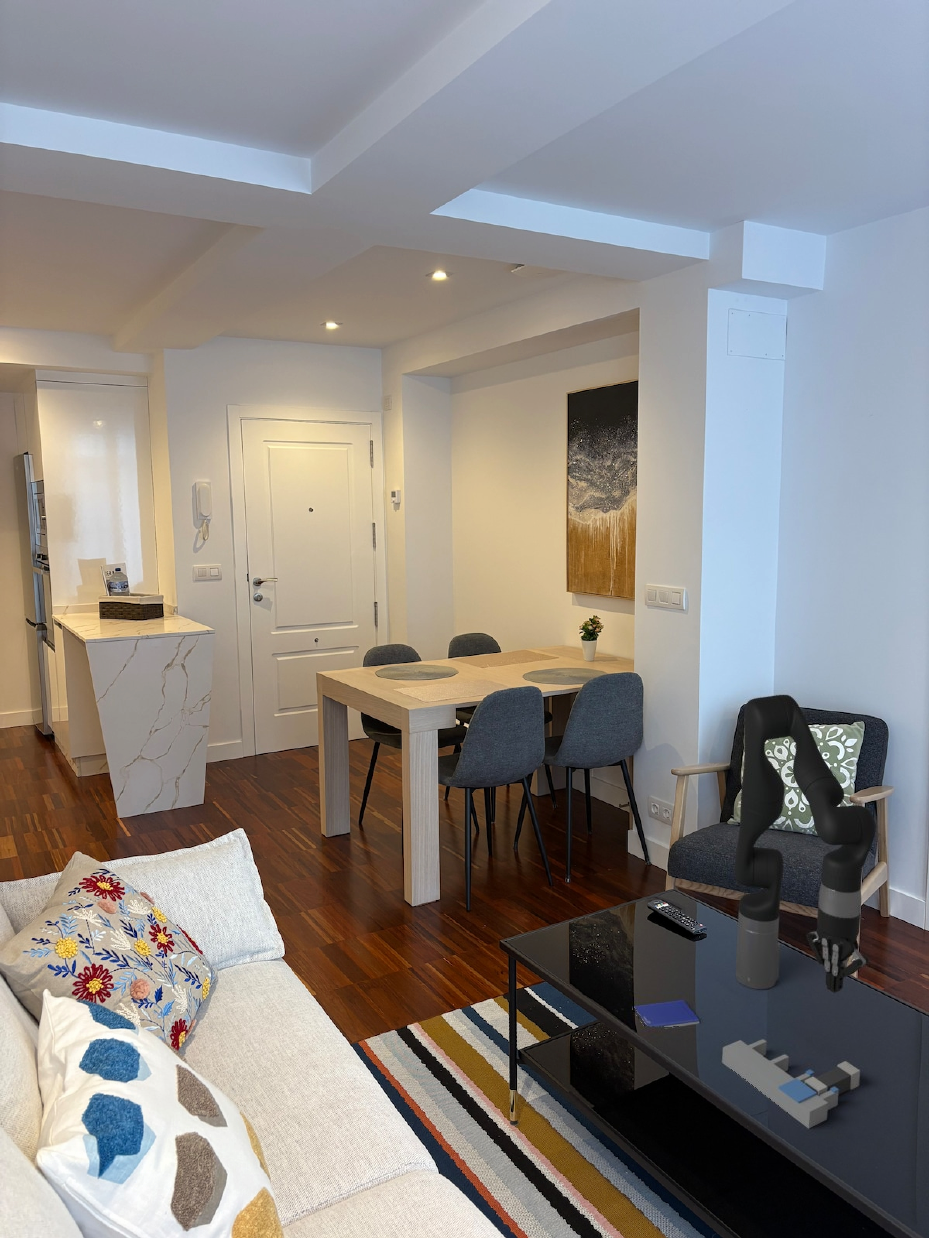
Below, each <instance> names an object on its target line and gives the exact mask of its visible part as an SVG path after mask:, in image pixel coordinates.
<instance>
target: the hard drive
mask: <svg viewBox="0 0 929 1238" xmlns="http://www.w3.org/2000/svg"><path fill="white" fill-rule="evenodd" d="M633 1006H634V1005H633ZM634 1008H635V1009H637V1010H636V1011H637V1013H638V1014H639V1015H640V1016H641V1018H642V1020H643V1021H644V1023H645V1024H646V1025H647V1026H650V1027H652V1026H654V1027H659V1026H661V1027H662V1026H664V1027H672V1028H674V1027H673V1026H679V1027H685V1026H692V1025H698V1024H700V1019H699V1018H698V1016H697V1015H696V1014H695V1012H694V1011H693V1010H692V1008H690V1007H689V1005H688V1003H687V1002H685V1000H683V999H678V1000H674V1001H673V1000H672V1001H666V1002H657V1003H650V1004H642V1005H641V1004H640V1005H635V1006H634Z"/></svg>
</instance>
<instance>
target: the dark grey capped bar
mask: <svg viewBox="0 0 929 1238" xmlns="http://www.w3.org/2000/svg"><path fill="white" fill-rule="evenodd" d="M860 1074H861V1069H858V1068H857V1067H855V1066H853V1065H852V1064H851V1063H850V1062H848V1061H846V1060H845V1061H843V1062H841V1063H838V1064H837V1067H835V1068H832V1069H831V1070H829V1071H827V1072H824V1073H822V1074H820V1075H818V1076H816V1077H815V1076H814V1077H811V1078H809V1079H807V1080H805V1085H807V1086H808V1087H809V1088H811V1089H812V1090H814V1091H815V1092H816V1093H817V1095H818V1096H820V1095H822V1094H824V1093H826V1092H828V1091H830V1088H832V1087H834V1086H835V1087H836V1088H838V1089H839V1091H838V1096H839V1095H841V1094H843V1093H845V1092H847V1091H849V1090H850V1091H851V1090H854V1089H855V1088H857V1087H859V1086H860Z"/></svg>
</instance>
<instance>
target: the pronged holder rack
mask: <svg viewBox="0 0 929 1238" xmlns="http://www.w3.org/2000/svg"><path fill="white" fill-rule="evenodd" d="M767 1044H768V1042H767V1040H765V1039H764V1038H763V1039H760V1040H757V1041H756V1042H755V1041H754V1042H753V1043H751V1044H747V1043H746V1042H744V1041H743V1040H741V1039H740V1040H737V1041H735V1042H732V1043H730V1044H727V1045H725V1046H723V1047H722V1058H721V1063H722V1064H724V1065H725V1066H726V1068H728V1069H730V1070H731V1069H732V1070H733V1071H732V1070H731V1071H732V1072H734V1071H735V1072H736V1073H737V1074H736V1073H735V1072H734V1073H735V1074H736V1075H738V1074H739V1075H740V1076H741V1077H740V1076H739V1075H738V1076H739V1077H740V1078H741V1079H743V1078H744V1079H746V1080H745V1082H747V1081H748V1082H749V1083H750V1085H751V1084H752V1085H753V1086H754V1087H753V1086H752V1085H751V1086H752V1087H753V1088H755V1087H756V1088H757V1089H758V1090H757V1089H756V1088H755V1089H756V1090H757V1091H759V1092H760V1091H761V1092H762V1093H761V1092H760V1093H761V1094H763V1096H765V1095H766V1096H765V1097H766V1098H768V1099H769V1098H770V1099H771V1100H770V1099H769V1100H770V1101H771V1102H772V1103H774V1102H775V1103H774V1104H776V1105H777V1106H778V1105H779V1106H778V1107H780V1108H781V1109H782V1110H783V1111H785V1112H786V1113H787V1112H788V1114H789V1116H791V1117H793V1119H795V1120H797V1121H798V1122H800V1123H801V1124H802V1125H803V1126H804V1127H806V1128H807V1129H808V1130H810V1129H811V1128H812V1127H814V1126H817V1125H819V1124H821V1123H822V1122H824V1121H827V1119H828V1111H830V1110H831V1109H833V1108H835V1107H837V1106H838V1101H839V1095H838V1091H839V1089H838V1088H836V1087H835V1086H834V1087H832V1088H830V1091H828V1092H826V1093H824V1094H822V1095H820V1096H818V1095H817V1093H816V1092H815V1091H814V1090H812V1089H811V1088H809V1087H808V1086H807V1085H805V1080H807V1079H809V1078H811V1077H815V1076H814V1075H815V1071H813V1070H812V1069H808V1070H806V1071H805V1073H804V1074H803V1073H802V1074H801V1075H799V1076H797V1077H795V1078H794V1077H793V1076H792V1075H790V1074H788V1073H787V1071H789V1060H790V1056H788V1055H787V1054H786V1053H785V1054H781V1055H780V1056H777V1057H775V1058H773V1059H772V1060H771V1059H770V1060H769V1059H767V1058H766V1057H764V1056H767ZM744 1079H743V1080H744ZM748 1082H747V1083H748ZM749 1083H748V1084H749Z"/></svg>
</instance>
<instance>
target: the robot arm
mask: <svg viewBox="0 0 929 1238" xmlns="http://www.w3.org/2000/svg"><path fill="white" fill-rule="evenodd" d="M744 707H745V708H744V713H743V738H744V739H743V740H744V741H743V742H744V747H743V748H744V751H743V752H744V757H743V759H744V760H743V771H742V772H743V774H742V781H741V782H742V783H741V789H740V790H741V792H740V793H741V794H740V817H739V821H740V822H739V830H738V837H737V838H738V839H737V844H736V851H735V856H734V858H735V859H734V877H735V880H736V882H737V883H738V884H739V885H741V886H745V887H751V888H761V889H760V890H758V891H757V890H756V891H755V892H751V893H750V892H749V893H747V894H744V895H743V896H742V897H741V898H739V899H740V900H739V902H738V920H737V923H738V925H737V940H736V941H737V943H736V959H735V960H736V961H735V979H736V980H737V981H738V982H739V983H740V984H741V985H743V986H745V987H748V988H751V989H755V990H767V989H770V988H773V987H774V986H775V985H776V981H778V980H779V977H780V976H779V975H780V973H779V972H780V959H781V958H780V954H781V943H780V942H779V929H780V928H779V923H780V912H781V911H780V906H781V892H782V884H783V876H784V857H783V854H782V852H781V851H780V850H779V849H775V848H766V847H760V846H759V847H757V846H755V844H756V842H757V841H758V839H759V838H760V837H761V836H763V834H764V833H765V832H766V831H767V830H768V829H770V828H771V827H772V825H774V824H775V823H776V822H777V820H778V819H779V818H780V817H781V815H782V813H783V810H784V809H783V808H784V800H785V783H784V780H783V778H782V777H781V774H779V772H778V771H777V769H776V768H775V767H774V765H773V764H772V763H771V761H770V760H769V758H768V756H767V755H766V750H765V748H766V747H765V746H766V742H767V741H770V740H776V739H782V738H788V737H790V739H792V740H793V741H794V743H795V752H794V753H795V754H794V759H793V763H792V773H793V777H794V781H795V783H796V785H797V786H798V787H799V790H800V791H801V793H802V794H803V796H804V798H805V799H806V802H807V803H808V806H809V810H810V813H811V816H812V819H813V825H814V830H815V833H816V835H817V836H818V837H819V839H820V840H821V841H823V842H824V843H825V844H828V845H829V846H840V847H839V848H837V849H835V850H831V851H829V852H827V853H826V854H825V855H824V856H823V859H822V866H821V882H820V886H819V892H818V902H817V903H818V904H817V920H816V921H817V922H816V925H817V928H816V930H813V931H811V932H808V933H806V936H805V937H806V939H807V942H808V943H809V944H808V945H809V946H810V947H811V950H812V953H813V954H814V957H815V959H816V961H817V963H818V964H819V965H822V966H823V968H824V970H825V986H826V989H827V990H828V991H830V992H832V993H833V994H834V993H837V992H839V991H841V990H843V988H844V986H843V984H844V978H847V977H849V976H851V975H854V973H857V971H859V970H861V969H862V968H863V967H865V966H866V965H867V964H868V963H869V958H868V957H867V956H863V955H862V954H861V953H860V951H859V943H858V936H859V934H860V927H861V925H860V924H861V911H862V878H863V867H864V865H865V863H866V861H867V858H868V856H869V852H870V850H871V848H872V846H873V843H874V840H875V837H876V832H877V831H876V828H877V827H876V821H875V817H874V815H873V813H872V812H871V810H869V809H868V807H865V806H864V805H843V806H841V804H842V802H844V799H845V791H844V789H843V788H844V787H842V785H841V783H840V781H839V780H838V779H837V777H836V775H835V774H834V773H833V771H832V769H831V768H830V767H829V766H828V764H827V762H826V760H825V759H824V757H823V755H822V754H821V751H820V749H819V747H818V744H817V742H816V740H815V737H814V735H813V733H812V731H811V728H810V726H809V725H808V722H807V719H806V718H805V715H804V712H803V711H802V709H801V707H800V706H799V704H798V701H796V699H795V698H794V697H793V696H791V695H789V694H776V695H771V696H762V697H761V696H760V697H755V698H751V699H749V700H748V701H747V702H746V704H745V706H744ZM851 956H852V957H851ZM850 957H851V959H850ZM849 960H850V964H849V965H847V964H848V963H849Z"/></svg>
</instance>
